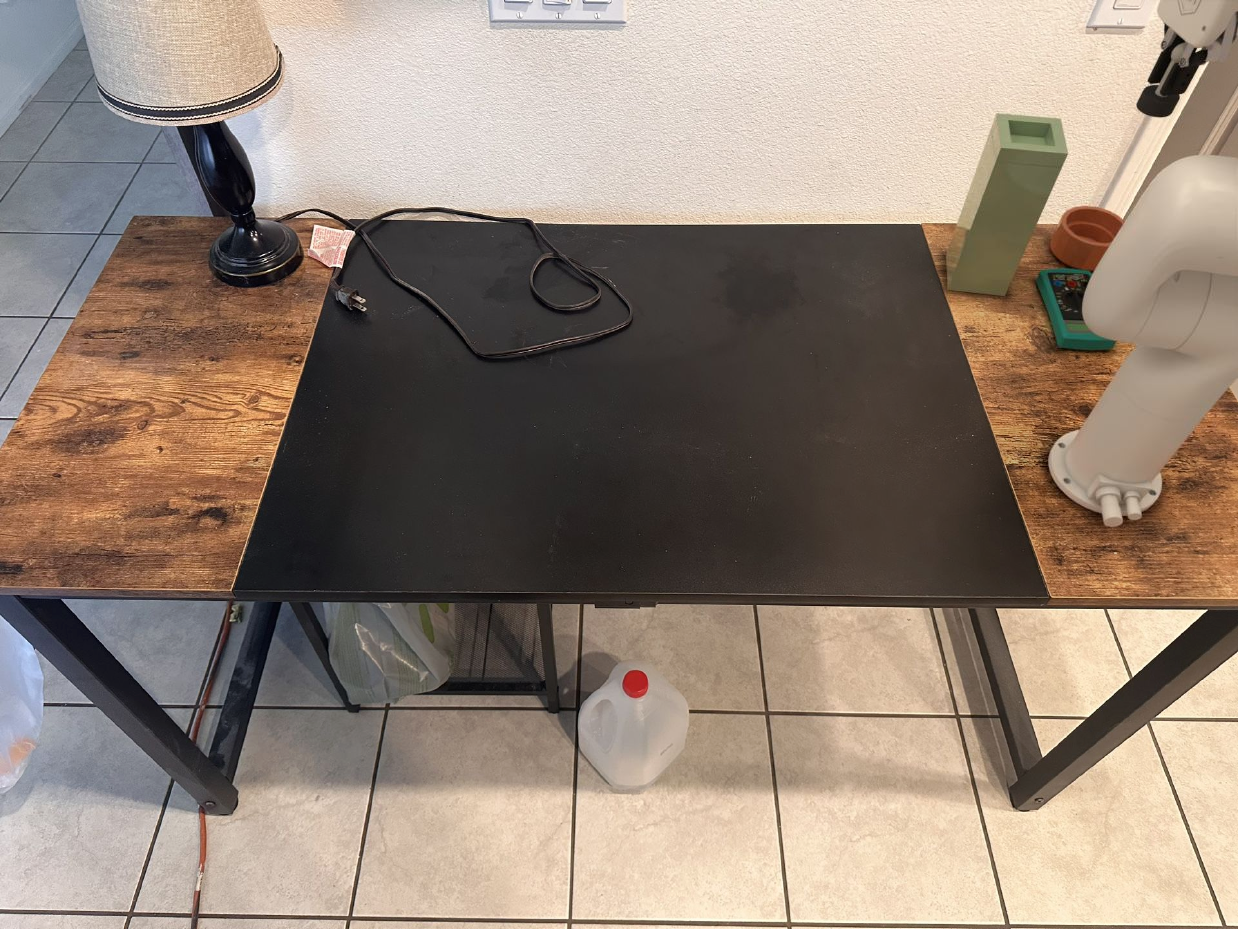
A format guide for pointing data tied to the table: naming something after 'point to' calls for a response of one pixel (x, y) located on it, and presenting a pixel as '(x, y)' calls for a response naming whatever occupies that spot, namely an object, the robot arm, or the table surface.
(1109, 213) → the basin bowl
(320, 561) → the table surface
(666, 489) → the table surface
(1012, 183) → the green tall hollow block
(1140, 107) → the stopper
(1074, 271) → the digital multimeter
